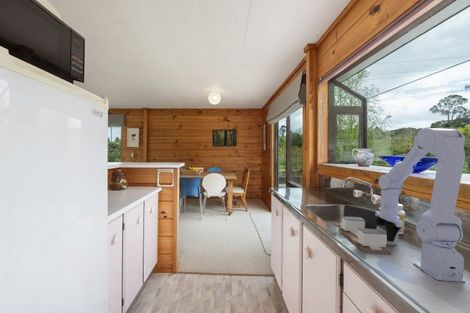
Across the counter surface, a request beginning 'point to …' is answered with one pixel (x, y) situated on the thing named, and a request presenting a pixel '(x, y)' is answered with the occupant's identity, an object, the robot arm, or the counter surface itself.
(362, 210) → the leaning round-cornered charcoal block
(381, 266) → the counter surface
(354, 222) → the mounted modules
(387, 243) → the block
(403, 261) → the counter surface
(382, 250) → the rail board
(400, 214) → the supplement bottle
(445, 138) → the robot arm
